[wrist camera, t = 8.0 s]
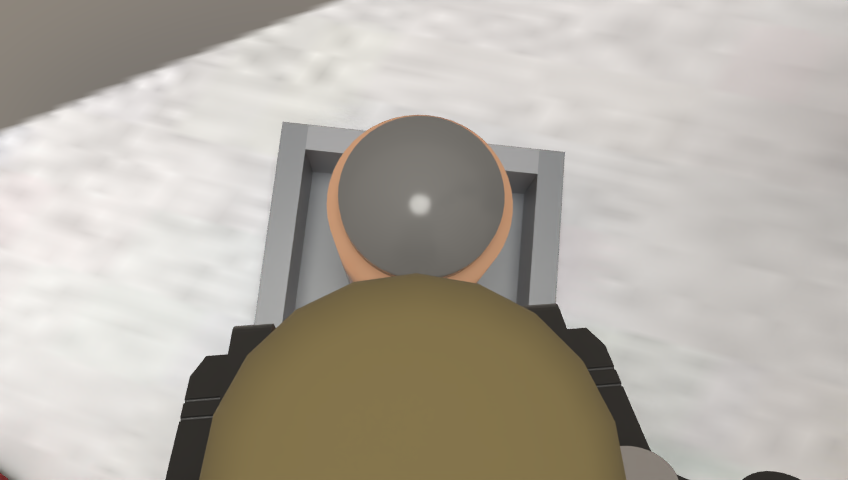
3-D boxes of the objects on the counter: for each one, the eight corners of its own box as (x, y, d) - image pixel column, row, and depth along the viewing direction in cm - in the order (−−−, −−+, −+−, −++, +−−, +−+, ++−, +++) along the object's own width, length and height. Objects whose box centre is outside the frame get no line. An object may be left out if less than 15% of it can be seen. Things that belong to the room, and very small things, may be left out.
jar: (483, 198, 33) (525, 113, 23) (472, 331, 31) (511, 300, 22) (351, 185, 32) (336, 93, 23) (336, 317, 31) (312, 280, 21)
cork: (245, 360, 19) (63, 306, 8) (477, 288, 20) (591, 150, 9) (312, 613, 18) (205, 933, 7) (556, 527, 18) (798, 702, 8)
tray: (544, 180, 34) (564, 151, 30) (518, 565, 31) (537, 590, 27) (295, 154, 34) (282, 121, 30) (242, 540, 30) (220, 560, 26)
